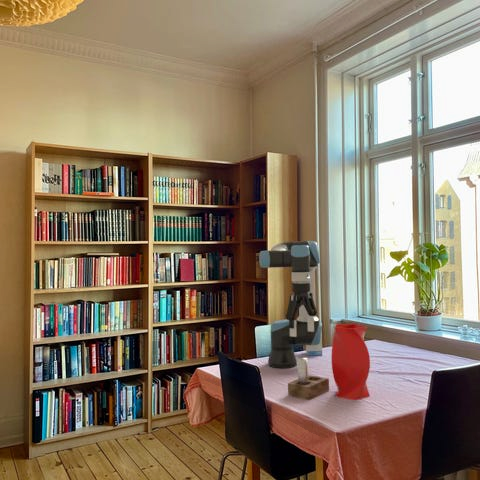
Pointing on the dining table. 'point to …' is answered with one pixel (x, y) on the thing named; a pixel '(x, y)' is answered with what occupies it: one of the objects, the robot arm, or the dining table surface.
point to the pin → (302, 371)
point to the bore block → (309, 387)
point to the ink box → (314, 348)
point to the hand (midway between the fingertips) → (302, 333)
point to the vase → (350, 361)
